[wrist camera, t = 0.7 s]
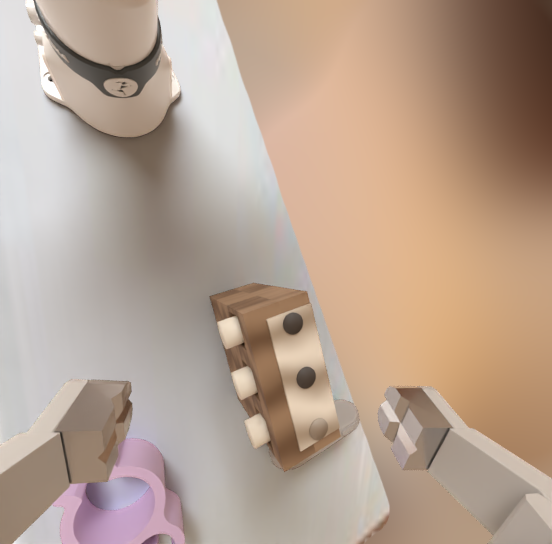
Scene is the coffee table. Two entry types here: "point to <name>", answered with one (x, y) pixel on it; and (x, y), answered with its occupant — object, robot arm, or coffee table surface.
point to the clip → (134, 518)
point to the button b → (257, 430)
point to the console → (282, 368)
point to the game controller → (347, 424)
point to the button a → (230, 332)
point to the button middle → (244, 382)
